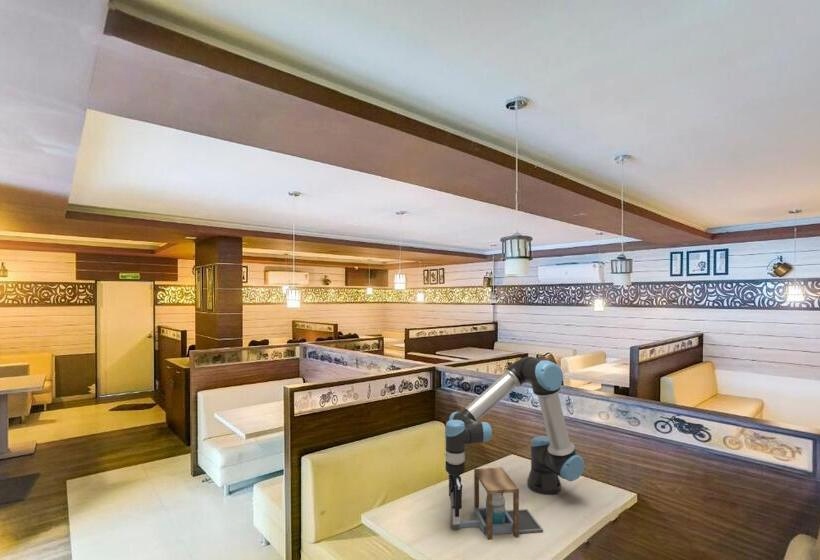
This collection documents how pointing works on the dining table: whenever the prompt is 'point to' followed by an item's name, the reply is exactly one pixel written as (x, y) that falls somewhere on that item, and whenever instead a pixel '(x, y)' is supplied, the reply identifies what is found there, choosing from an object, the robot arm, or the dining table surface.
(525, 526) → the dark grey flat plate
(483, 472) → the tunnel
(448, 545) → the dining table surface
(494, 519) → the pill bottle
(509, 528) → the grey frame on stick
